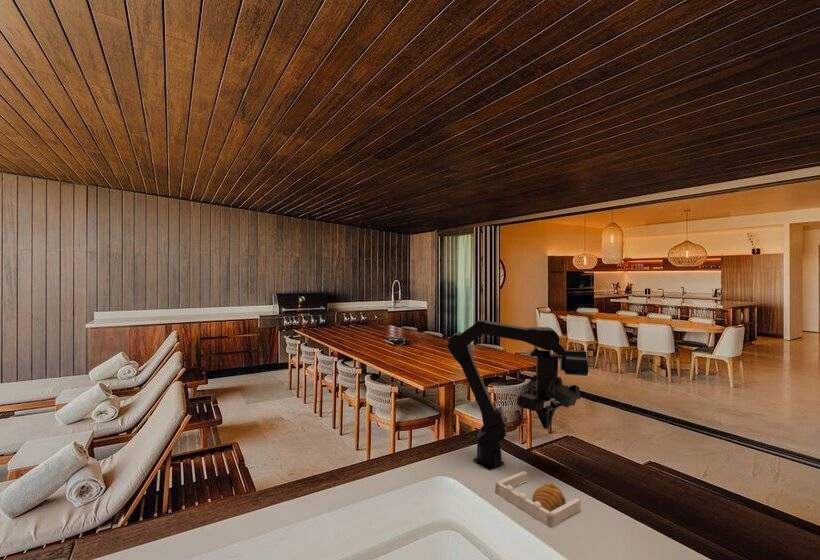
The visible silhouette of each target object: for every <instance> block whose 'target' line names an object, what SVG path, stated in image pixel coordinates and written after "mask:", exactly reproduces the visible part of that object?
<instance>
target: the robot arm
mask: <svg viewBox="0 0 820 560" xmlns="http://www.w3.org/2000/svg"><path fill="white" fill-rule="evenodd" d="M482 335H486V336H487V335H488V336H494V337H498V338H499V337H500V338H503V339H510V340H515V341H520V342H524V343H526V344H529V345H532V346H534V349H532V350H531V351H529V355H530V357H533V358H534V357H536V366H535V367H536V368H535V371H536V373H535V374H533V375H532V379H533V380H535V389H532V394H530V393H524V394H520V395H518V396H517V397H516V406H519V407H521V408H523V409H526V410H529V411H533V412H536V415H537V417H538V418H539V421H540V423H541V425H542V428H543V429H545V430H548V429H549V428H550V425H551V422H552V419H553V417H554V414H555V412H556V410H557V409H559V408H560V407H563V408H569V407H571V406H573V407H574V406H575V405H576V403H577V400H580V399H581V395H580V394H581V391H580V386H578V385H577V384H571V385H570V386H569V385H564V384H563V379H562V377H561V376H559V369H560V371H563V373H564V375H567V376H582V377H588V374H589V363H588V358H587V355H588V354H587V351H586V350H583V349H582V350H573V349H572V350H569V349H566V348H565V347H564V345H561V343H560V336H559V334H558V333H557V332H556V330H554V329H553V328H551V327H549V326H533V327H531V326H530V327H523V326H519V325H512V324H505V323H501V322H494V321H488V320H485V319H479V320H478V321H476V322H475V324H473V325H471V326H470V327H468V328H467V329H466V330H464V331H463V332H461V331H460V332H459V331H458V332H455V333H454V334H453V335H451V336H450V337H449V338H448V339H447V345H446V346H447V349H448V351H449V353H450V354H451V355H452V357H453V358H454V360H455V361H456V362H457V363H458V364H459V365H460V366H461V370H462V371H463V373H464V376H465V377H466V380H467V382H468V385H469V388H470V389H471V391H472V394H473V397H474V398H475V401H476V403H477V406H478V407H479V411H480V414H481V419H482V426H480V429H479V432H478V435H477V442H476V445H477V446H476V457H474V458H473V459H472V461H473V462H474V463H476V464H477V465H480V466H481V467H483V468H484V469H486V470H489V471H490V470H493V469H495V468H497V467H500V466H503V465H504V463H505V462H504V461H502V450H501V443H500V442H501V441H502V440H504V439H505V437H506V435H507V426H508V418H507V417H506V416H505V414H504V411H503V407H502V406H500V407H497V406H496V404H494V402H493V400H492V398H491V395H490V394H489V392H488V389H487V387H486V384H485V382H484V379H483V378H482V376H481V373H480V371H479V369H478V367H477V364H476V362H475V360H474V355H473V350H472V345H471V343H473V342H474V341H476V340H477V339H478V338H480V337H481V336H482ZM542 349H543V350H542ZM551 351H552V352H554V353H555V354H554V353H551ZM502 464H503V465H502Z"/></svg>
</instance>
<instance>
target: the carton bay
mask: <svg viewBox="0 0 820 560" xmlns="http://www.w3.org/2000/svg"><path fill="white" fill-rule="evenodd" d="M526 480H527V481H528V472H527V471H525V470H522V471H520V472H518V473H516V474H512V475H510V476H509V477H506V478H503V479H501V480H498V481H496V482H495V491H494V492H495V493H496V494H497V495H499V496H501V498H503V499H505V500H506V501H508V502H509V503H511V504H513V505H515V506H516V507H518V508H520V509H521V510H522V511H524V512H526V513H527V514H529V515H531V516H533V517H534V518H536V519H537V520H539V521H541V522H542V523H543V524H545V525H546V526H549V527H550V528H553V527H555V526H557V525H558V524H560V523H562V522H564V521H565V520H567V519H569V518H570V517H572V516H574V515H576V514H577V513H579V512H580V511H581V499H579V498H577V497H576V498H574V499H572V500H570V501H568V502H567V503H566V502H565V503H564V505H562V506H561V507H559V508H557V509H555V510H553V511H551V512H550V511H548V510H546V509H544V508H543V507H542V506H541V503H540V502H538V501H535V502H533V501H532V499H529V498H528V497H527V494H526V493H524V492H521V493H519V492H517V491H515V490H514V488H516V487H515V486H517V485H519V484H520V483H522V482H524V481H526ZM519 486H520V485H519ZM517 487H518V486H517ZM578 511H579V512H578ZM575 513H576V514H575ZM573 514H574V515H573ZM571 515H572V516H571ZM569 516H570V517H569ZM568 517H569V518H568ZM566 518H567V519H566ZM564 519H565V520H564ZM561 521H562V522H561Z"/></svg>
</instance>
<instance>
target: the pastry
mask: <svg viewBox="0 0 820 560" xmlns="http://www.w3.org/2000/svg"><path fill="white" fill-rule="evenodd" d="M531 501H533V502H535V501H538V502H540V503H541V506H542V507H543V508H544V509H546V510H548V511H550V512H551V511H553V510H555V509H557V508H559V507H561V506H562V505H563V504H566V502H567V499H566V497H565V495H564V493H563V492H562V490H561V488H560V487H558V486H557V485H555V484H554V483H544V484H542V485H541V486H540V487H538V488H537V489H536V490H535V491H534V493H533V494H532V499H531Z"/></svg>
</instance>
